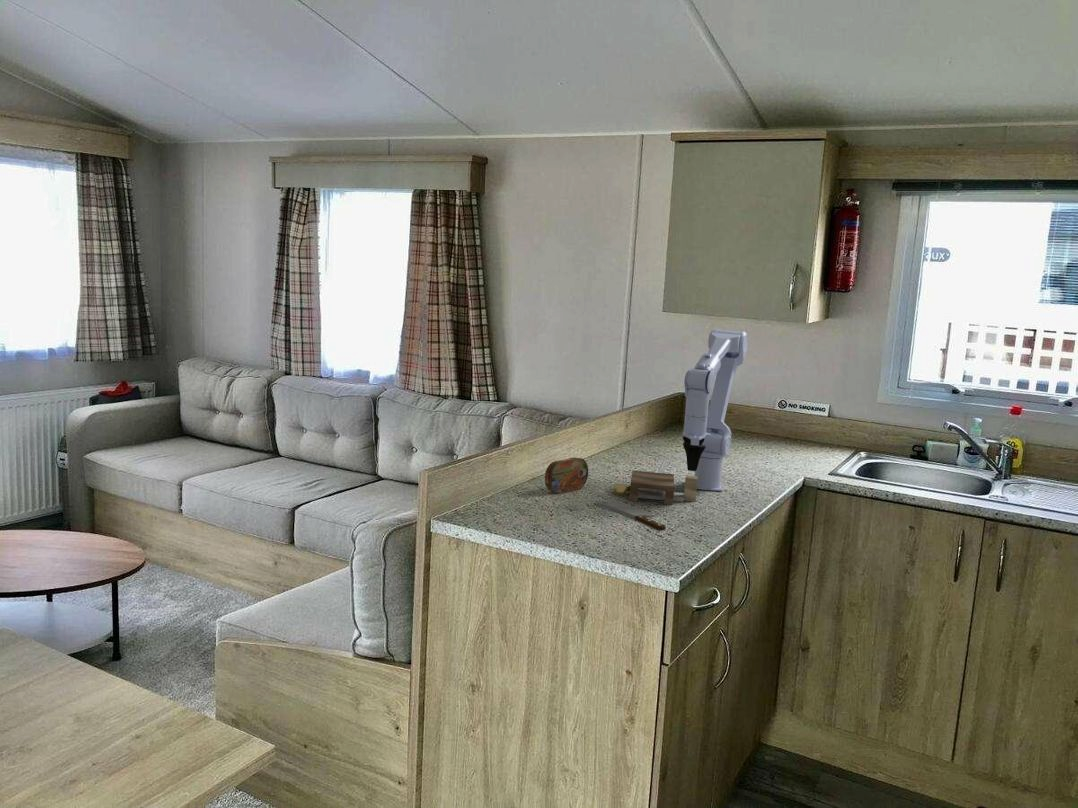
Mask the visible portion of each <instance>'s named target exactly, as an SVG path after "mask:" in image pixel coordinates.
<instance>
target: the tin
mask: <svg viewBox="0 0 1078 808" xmlns="http://www.w3.org/2000/svg"><path fill="white" fill-rule="evenodd" d="M544 474H545V475H544V483H545V487H546V489H547V490H548V491H550V492H551V493H555V494H559V495H560V493H561V494H565V493H568V492H573V491H578V490H581V489H582V488H583V487H584V486H585V484H586V482H587V479H588V477H589V467H588V463H587V462H586V460H585V459H584V458H582V457H569V458H565V459H559V460H555V461H552V462H551V463H549V465H548V466H547V468H546V470H545V472H544Z"/></svg>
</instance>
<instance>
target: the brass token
mask: <svg viewBox="0 0 1078 808" xmlns="http://www.w3.org/2000/svg"><path fill="white" fill-rule="evenodd" d="M612 494H613V495H616V496H622V497H623V496H625V497H628V496H630V485H629V484H626V483H625V484H623V483H618V484H616V483H615V484H613V486H612Z"/></svg>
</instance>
